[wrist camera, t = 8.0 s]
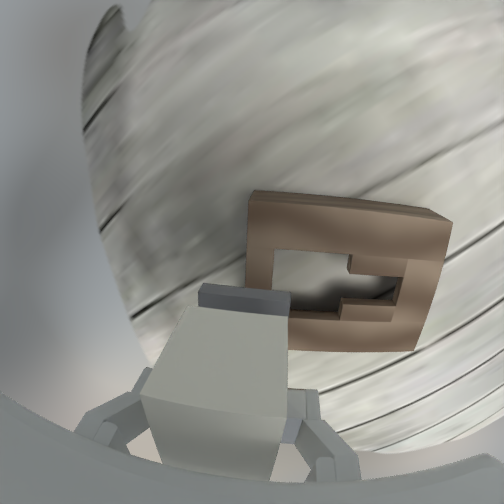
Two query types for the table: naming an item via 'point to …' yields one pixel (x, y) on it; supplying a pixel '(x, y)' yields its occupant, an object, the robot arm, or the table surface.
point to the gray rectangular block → (223, 384)
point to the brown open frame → (352, 265)
